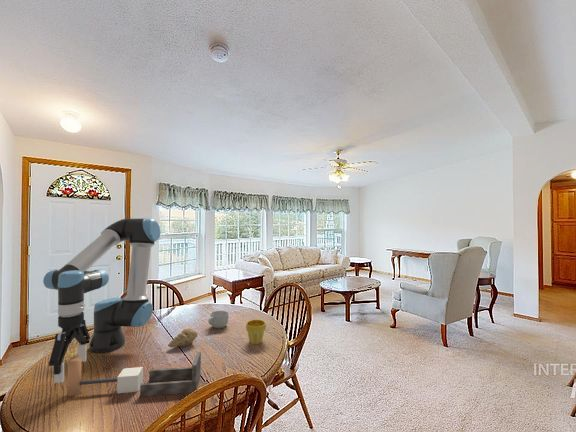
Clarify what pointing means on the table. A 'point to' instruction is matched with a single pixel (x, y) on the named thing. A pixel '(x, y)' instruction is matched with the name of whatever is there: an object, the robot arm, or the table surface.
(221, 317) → the teacup
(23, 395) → the table surface
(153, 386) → the shelf lane
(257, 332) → the plant pot
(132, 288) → the robot arm
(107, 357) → the table surface
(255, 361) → the table surface
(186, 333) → the seashell
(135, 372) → the push rod with block
